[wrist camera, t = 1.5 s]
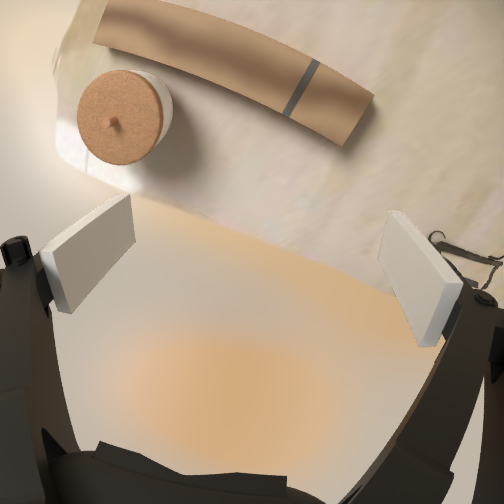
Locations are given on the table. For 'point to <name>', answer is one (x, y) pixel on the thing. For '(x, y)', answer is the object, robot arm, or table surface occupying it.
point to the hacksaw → (469, 255)
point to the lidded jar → (124, 115)
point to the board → (237, 62)
